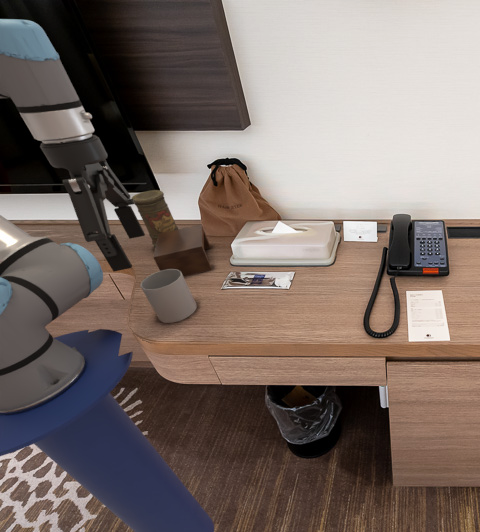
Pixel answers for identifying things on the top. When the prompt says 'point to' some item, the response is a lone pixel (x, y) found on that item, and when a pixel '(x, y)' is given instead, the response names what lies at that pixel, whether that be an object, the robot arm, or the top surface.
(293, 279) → the top surface
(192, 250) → the brown wooden block
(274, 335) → the top surface
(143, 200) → the container
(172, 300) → the cup
